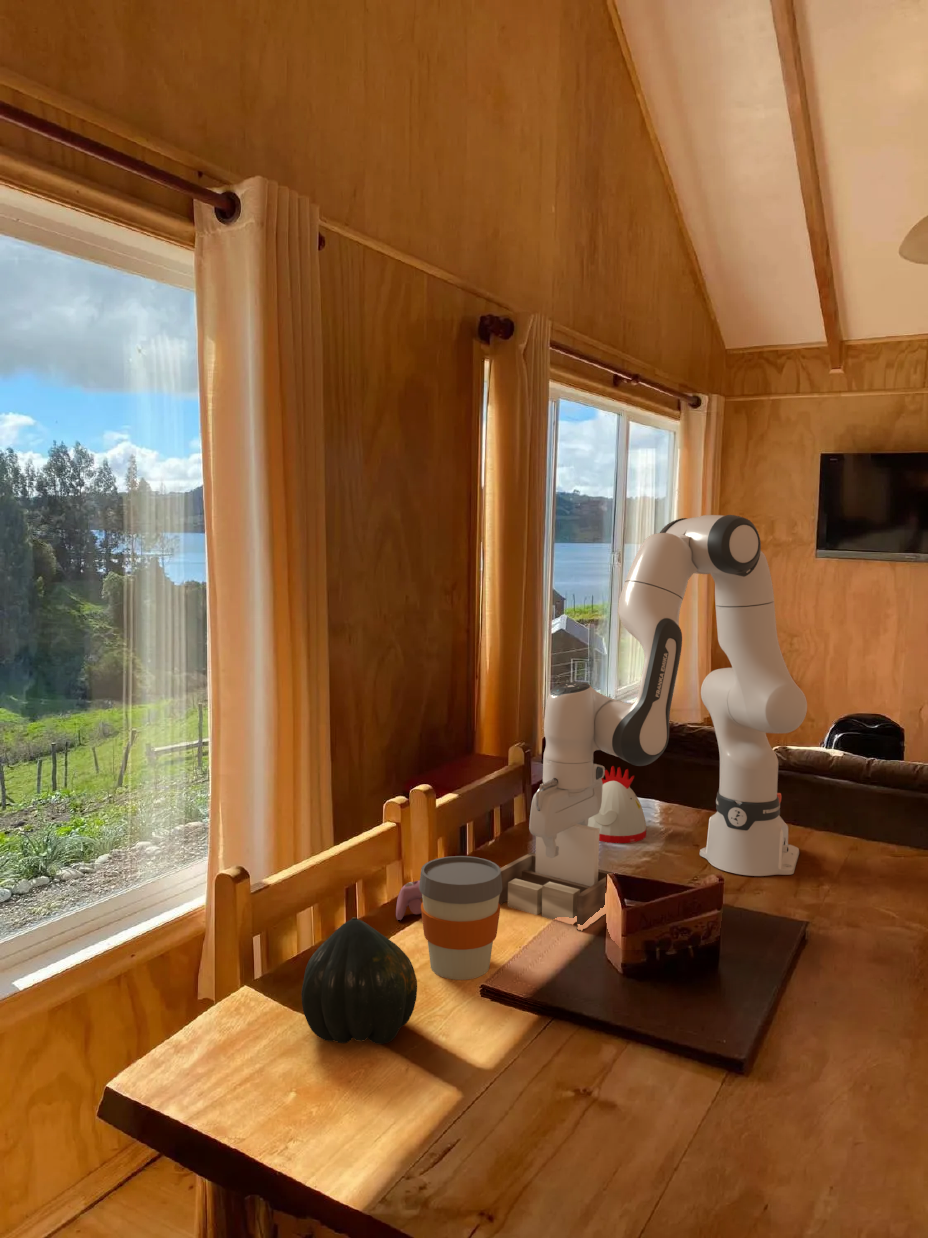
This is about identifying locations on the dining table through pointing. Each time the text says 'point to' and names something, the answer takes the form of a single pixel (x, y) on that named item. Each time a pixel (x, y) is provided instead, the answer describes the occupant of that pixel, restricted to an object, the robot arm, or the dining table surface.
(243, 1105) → the dining table surface
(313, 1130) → the dining table surface
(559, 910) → the birch offcut
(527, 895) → the birch offcut
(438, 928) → the reusable coffee cup
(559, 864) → the white panel
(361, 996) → the squash
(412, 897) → the video game controller
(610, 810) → the kitchen timer
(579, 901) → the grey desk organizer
